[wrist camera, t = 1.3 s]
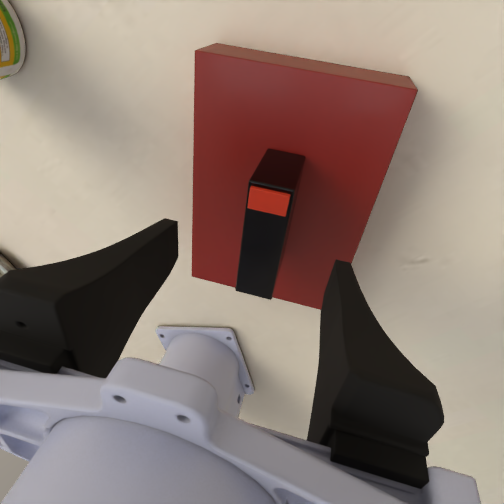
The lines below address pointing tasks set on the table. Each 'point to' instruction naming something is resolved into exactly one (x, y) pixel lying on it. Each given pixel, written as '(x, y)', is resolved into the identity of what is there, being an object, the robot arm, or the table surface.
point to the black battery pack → (268, 221)
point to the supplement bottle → (10, 41)
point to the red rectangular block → (293, 141)
